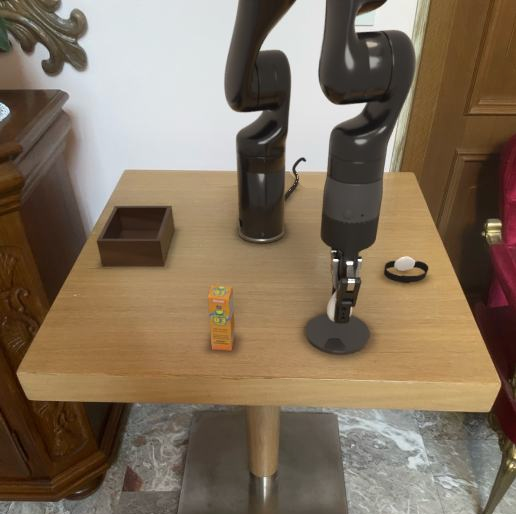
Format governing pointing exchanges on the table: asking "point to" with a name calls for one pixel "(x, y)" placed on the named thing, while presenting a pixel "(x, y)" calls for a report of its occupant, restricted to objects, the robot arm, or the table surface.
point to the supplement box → (221, 317)
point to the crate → (136, 236)
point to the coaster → (337, 335)
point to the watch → (404, 265)
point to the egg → (332, 307)
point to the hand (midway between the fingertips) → (339, 312)
